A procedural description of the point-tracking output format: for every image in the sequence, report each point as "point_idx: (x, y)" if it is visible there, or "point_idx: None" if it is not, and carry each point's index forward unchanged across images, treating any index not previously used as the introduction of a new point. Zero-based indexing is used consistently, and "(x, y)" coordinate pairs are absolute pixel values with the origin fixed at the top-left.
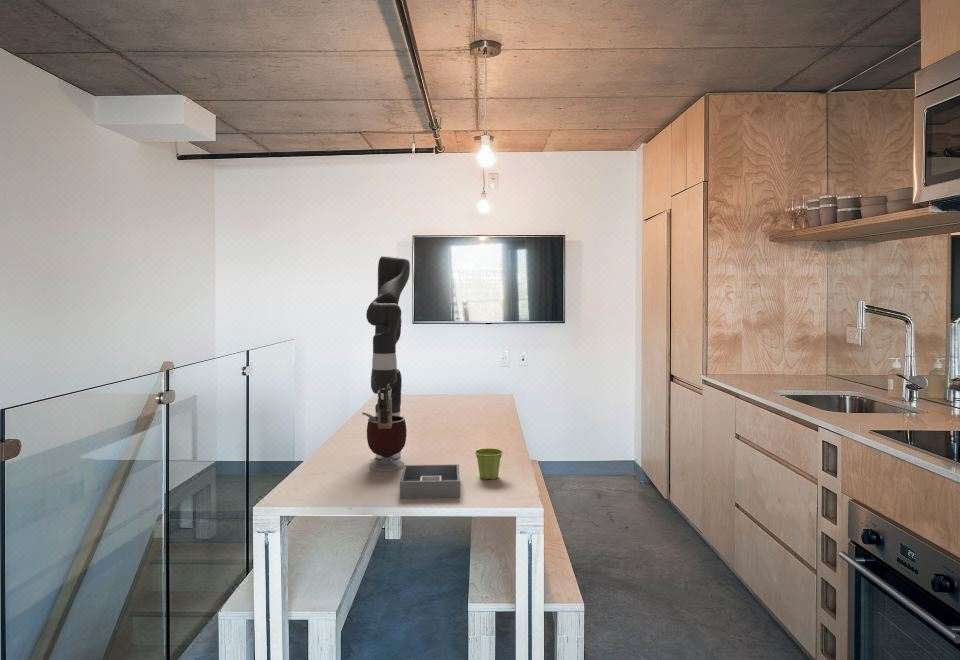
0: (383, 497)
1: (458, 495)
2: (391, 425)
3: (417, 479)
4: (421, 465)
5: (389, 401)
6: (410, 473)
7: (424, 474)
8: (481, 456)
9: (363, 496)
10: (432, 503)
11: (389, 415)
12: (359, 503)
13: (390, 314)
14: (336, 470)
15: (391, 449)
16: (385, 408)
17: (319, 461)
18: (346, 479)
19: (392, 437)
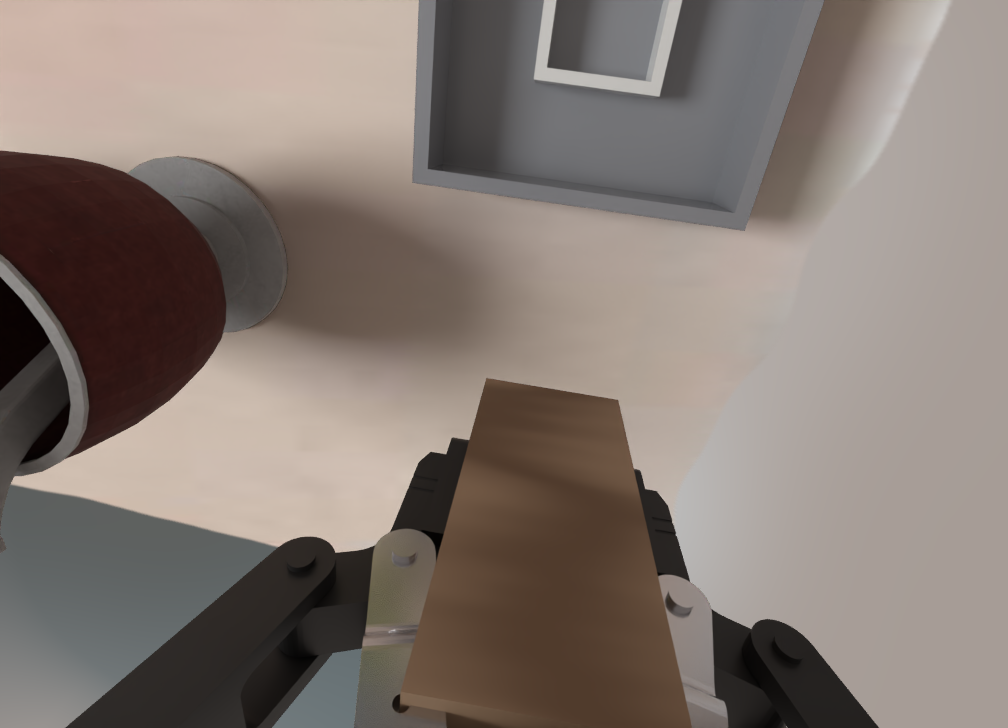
0: (675, 289)
1: None
2: (538, 394)
3: (482, 99)
4: (432, 61)
5: (695, 720)
6: (440, 140)
7: (446, 47)
8: None
9: (635, 366)
10: (867, 38)
11: (633, 504)
12: (718, 383)
13: None
14: (280, 449)
15: (212, 258)
16: (819, 679)
17: (168, 499)
18: (400, 419)
19: (161, 273)
